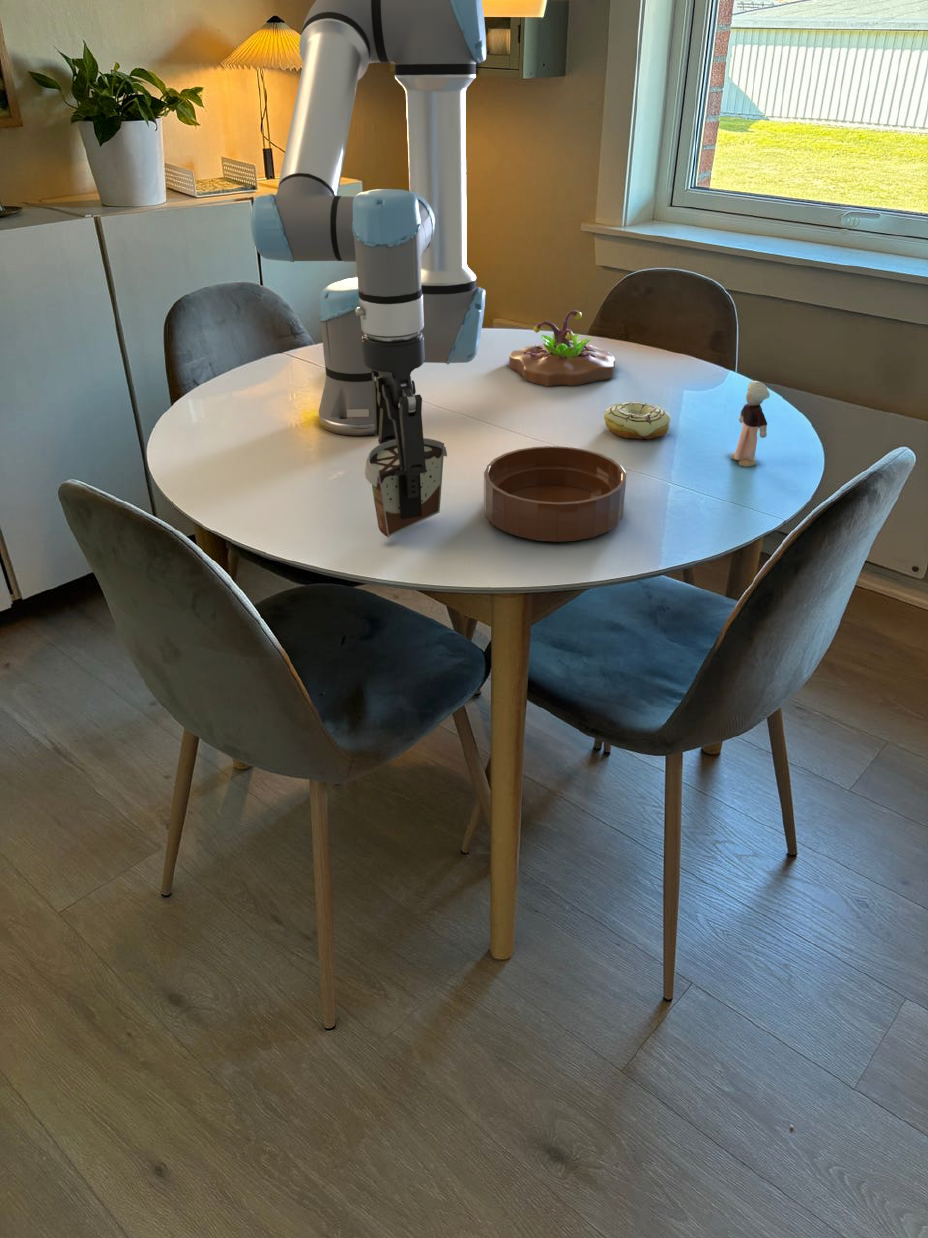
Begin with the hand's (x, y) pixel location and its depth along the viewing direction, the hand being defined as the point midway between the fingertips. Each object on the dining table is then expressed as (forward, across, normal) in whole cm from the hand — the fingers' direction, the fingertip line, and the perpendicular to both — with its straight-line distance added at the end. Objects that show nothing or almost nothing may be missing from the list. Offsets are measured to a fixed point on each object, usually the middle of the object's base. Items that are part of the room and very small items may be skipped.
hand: (402, 503), depth 124 cm
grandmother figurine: (+4, -2, +56) cm, 56 cm away
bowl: (+4, +3, +21) cm, 21 cm away
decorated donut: (+5, -20, +47) cm, 51 cm away
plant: (+5, -54, +50) cm, 73 cm away
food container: (+2, -1, 0) cm, 3 cm away
